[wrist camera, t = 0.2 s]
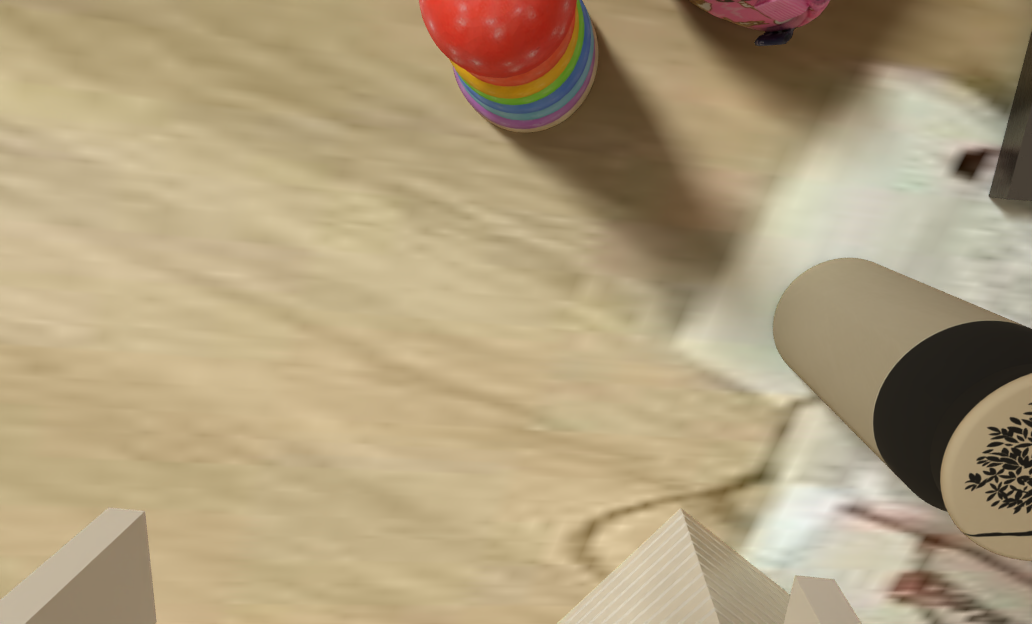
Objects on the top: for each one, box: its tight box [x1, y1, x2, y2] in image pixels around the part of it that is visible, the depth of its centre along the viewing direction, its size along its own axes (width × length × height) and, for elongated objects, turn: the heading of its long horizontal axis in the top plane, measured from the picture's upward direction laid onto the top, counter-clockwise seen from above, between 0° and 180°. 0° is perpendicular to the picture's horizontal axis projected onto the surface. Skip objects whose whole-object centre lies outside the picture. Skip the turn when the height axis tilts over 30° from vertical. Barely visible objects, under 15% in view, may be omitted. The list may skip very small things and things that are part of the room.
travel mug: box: [773, 258, 1032, 561], centre depth 31 cm, size 8×8×18 cm
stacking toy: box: [419, 0, 599, 133], centre depth 27 cm, size 8×8×19 cm
